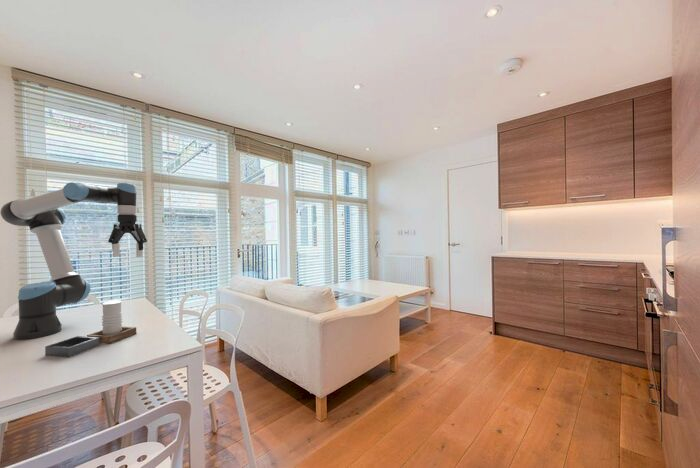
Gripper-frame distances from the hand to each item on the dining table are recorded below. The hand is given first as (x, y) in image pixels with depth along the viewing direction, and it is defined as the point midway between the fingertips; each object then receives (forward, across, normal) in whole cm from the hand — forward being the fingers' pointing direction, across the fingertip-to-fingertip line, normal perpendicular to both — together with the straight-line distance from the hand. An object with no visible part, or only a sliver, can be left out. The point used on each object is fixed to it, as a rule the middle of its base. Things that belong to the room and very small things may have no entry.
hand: (127, 256), depth 143 cm
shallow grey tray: (+35, -6, +29) cm, 46 cm away
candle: (+34, -8, +15) cm, 38 cm away
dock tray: (+35, -8, +15) cm, 39 cm away
